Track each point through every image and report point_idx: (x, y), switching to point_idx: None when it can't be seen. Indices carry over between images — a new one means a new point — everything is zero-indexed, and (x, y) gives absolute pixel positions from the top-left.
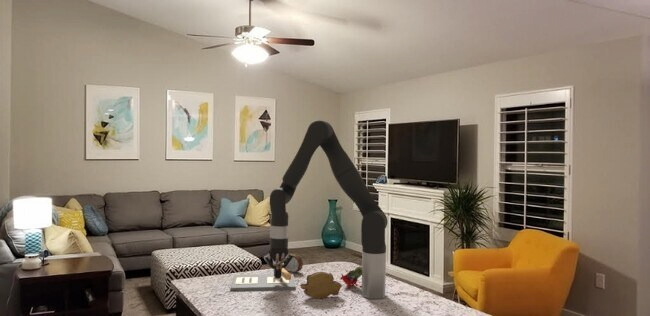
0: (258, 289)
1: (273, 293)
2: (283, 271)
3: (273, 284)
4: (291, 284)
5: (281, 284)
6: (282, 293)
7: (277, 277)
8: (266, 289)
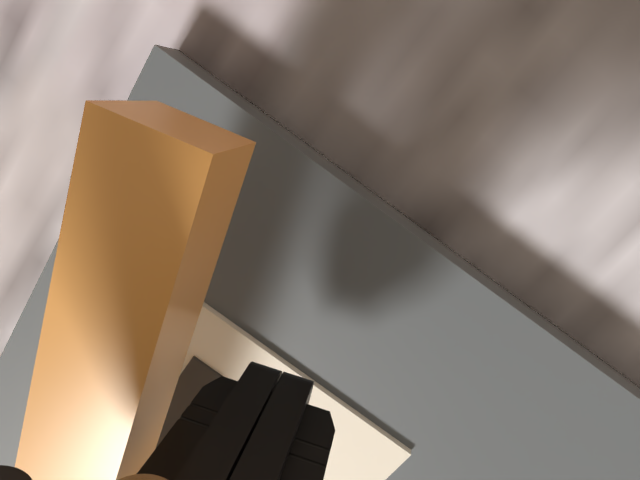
0: (633, 384)
1: (578, 102)
2: (98, 450)
3: (363, 365)
4: None
5: (268, 289)
6: (465, 3)
7: (300, 386)
8: (535, 313)
